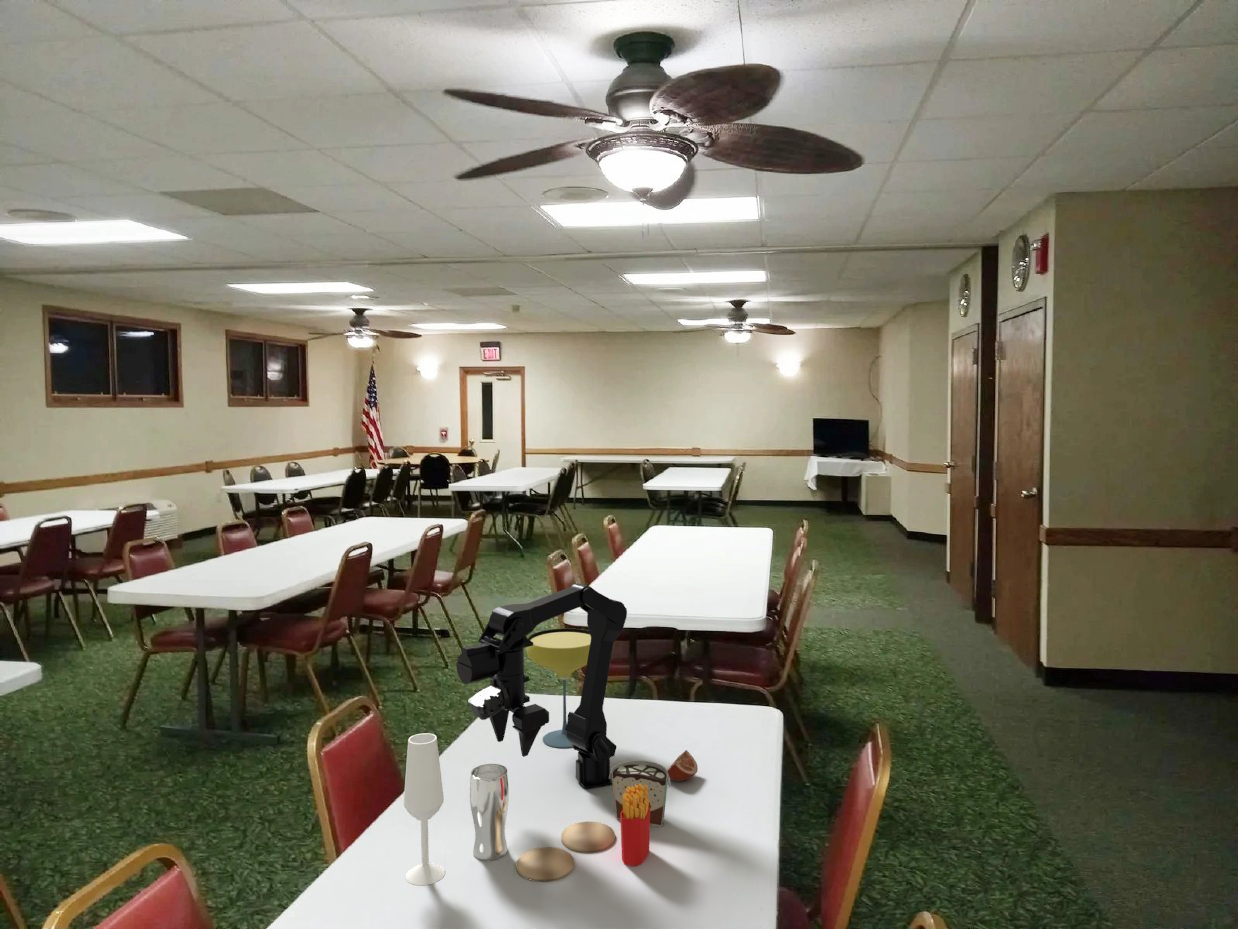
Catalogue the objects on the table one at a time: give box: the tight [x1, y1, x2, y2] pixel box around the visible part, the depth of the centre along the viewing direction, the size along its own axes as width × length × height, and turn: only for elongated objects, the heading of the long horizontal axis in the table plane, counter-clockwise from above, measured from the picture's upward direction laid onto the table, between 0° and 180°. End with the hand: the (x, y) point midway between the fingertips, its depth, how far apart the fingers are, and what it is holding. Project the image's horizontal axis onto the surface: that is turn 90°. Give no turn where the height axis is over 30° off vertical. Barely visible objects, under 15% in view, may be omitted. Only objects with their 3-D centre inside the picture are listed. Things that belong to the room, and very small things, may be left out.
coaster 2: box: [560, 821, 616, 853], centre depth 155 cm, size 10×10×1 cm
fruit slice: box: [666, 749, 698, 782], centre depth 179 cm, size 8×7×5 cm
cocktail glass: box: [525, 627, 591, 749], centre depth 200 cm, size 18×18×25 cm
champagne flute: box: [403, 732, 446, 886], centre depth 142 cm, size 7×7×24 cm
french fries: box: [619, 784, 651, 867], centre depth 148 cm, size 8×4×12 cm, turn 157°
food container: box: [609, 760, 672, 828], centre depth 163 cm, size 12×6×10 cm, turn 71°
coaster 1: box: [516, 846, 575, 882], centre depth 146 cm, size 10×10×1 cm
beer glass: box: [469, 763, 510, 862], centre depth 150 cm, size 7×7×15 cm
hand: (512, 748), depth 164 cm, fingers open, 9 cm apart
